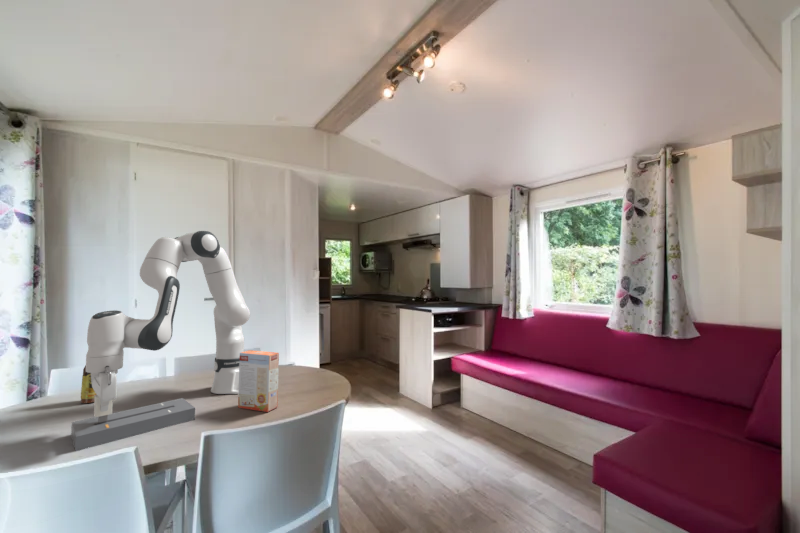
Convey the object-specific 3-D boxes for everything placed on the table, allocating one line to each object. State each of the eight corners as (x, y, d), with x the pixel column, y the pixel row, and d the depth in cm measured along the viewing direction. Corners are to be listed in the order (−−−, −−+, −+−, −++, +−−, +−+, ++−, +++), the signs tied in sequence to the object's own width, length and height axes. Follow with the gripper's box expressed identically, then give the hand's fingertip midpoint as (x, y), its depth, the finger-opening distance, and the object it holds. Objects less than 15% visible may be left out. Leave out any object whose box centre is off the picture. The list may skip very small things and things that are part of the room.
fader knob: (110, 417, 108) (111, 392, 108) (111, 420, 106) (113, 394, 106) (93, 421, 105) (94, 395, 105) (94, 424, 103) (95, 397, 103)
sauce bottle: (88, 404, 130) (91, 352, 131) (75, 403, 131) (78, 351, 132) (106, 399, 137) (108, 349, 137) (94, 397, 138) (96, 348, 139)
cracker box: (278, 407, 130) (279, 352, 131) (267, 413, 124) (269, 355, 125) (249, 402, 134) (250, 349, 135) (237, 408, 129) (238, 352, 130)
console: (182, 408, 127) (182, 397, 128) (194, 419, 118) (195, 407, 118) (71, 435, 105) (71, 421, 105) (75, 451, 96) (76, 436, 96)
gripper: (124, 367, 101) (122, 415, 101) (112, 356, 115) (110, 398, 115) (96, 372, 97) (93, 421, 96) (87, 359, 111) (85, 403, 110)
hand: (102, 408), depth 106 cm, fingers closed on fader knob, 3 cm apart
